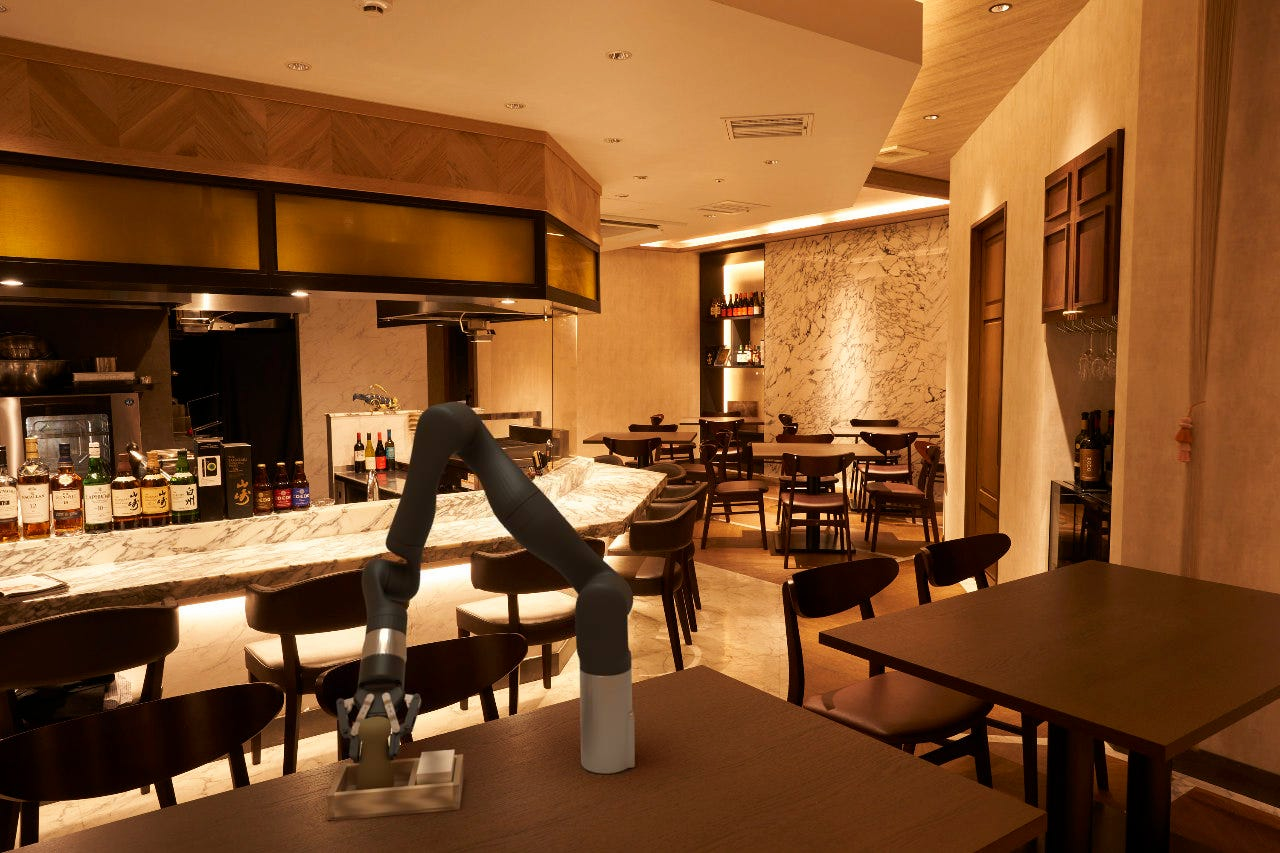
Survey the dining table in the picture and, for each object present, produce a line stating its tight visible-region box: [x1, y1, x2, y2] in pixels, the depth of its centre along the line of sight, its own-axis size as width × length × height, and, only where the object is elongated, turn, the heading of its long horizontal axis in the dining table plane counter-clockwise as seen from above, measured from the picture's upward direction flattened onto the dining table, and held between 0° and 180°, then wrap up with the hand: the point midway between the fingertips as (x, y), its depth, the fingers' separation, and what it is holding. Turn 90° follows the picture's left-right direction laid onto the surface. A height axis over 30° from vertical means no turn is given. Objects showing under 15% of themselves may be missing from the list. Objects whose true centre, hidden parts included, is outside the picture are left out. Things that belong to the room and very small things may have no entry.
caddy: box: [327, 749, 464, 821], centre depth 134 cm, size 20×11×6 cm, turn 99°
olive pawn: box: [356, 716, 394, 790], centre depth 134 cm, size 6×6×11 cm
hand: (373, 759), depth 132 cm, fingers closed on olive pawn, 5 cm apart
